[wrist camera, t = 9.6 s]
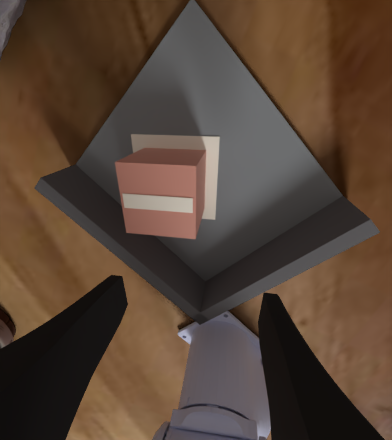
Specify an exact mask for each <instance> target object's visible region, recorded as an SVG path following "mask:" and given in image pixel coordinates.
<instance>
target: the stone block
mask: <svg viewBox="0 0 392 440" xmlns="http://www.w3.org/2000/svg"><path fill="white" fill-rule="evenodd" d="M25 3H26V0H0V60H1V56H2V51H3V49H4V48H5V47H6V45H7V43H8V40H9V38H10V35H11V30H12V28H13V26H14V25H15V23H16V21H17V19H18V18H19V17H20V16H21V15H22V12H23V9H24V5H25Z"/></svg>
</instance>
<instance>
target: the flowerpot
mask: <svg viewBox="0 0 392 440" xmlns="http://www.w3.org/2000/svg"><path fill="white" fill-rule="evenodd" d="M15 332H16V330H15V327H14V325H13V323H12V322H11V321H10V320H9V317H8V316H7V315H6V314H5V313H4V312H3V311H2V310H1V309H0V349H1V348H3V347H5V346H6V345H8V344H10V343H12V342H13V337H14V335H15Z"/></svg>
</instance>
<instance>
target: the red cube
mask: <svg viewBox="0 0 392 440" xmlns="http://www.w3.org/2000/svg"><path fill="white" fill-rule="evenodd" d="M115 166H116V173H117V179H118V185H119V191H120V197H121V203H122V209H123V216H124V222H125V228H126V233H134V234H145V235H156V236H166V237H177V238H188V239H196V236H197V233H198V229H199V226H200V223H201V219H202V216H203V212H204V209H205V177H206V150H191V149H165V148H143V149H141V150H139V151H137V152H135V153H133V154H130V155H128V156H126V157H124V158H122V159H120V160H118V161H116V162H115Z"/></svg>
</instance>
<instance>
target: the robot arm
mask: <svg viewBox="0 0 392 440" xmlns="http://www.w3.org/2000/svg"><path fill="white" fill-rule="evenodd" d="M127 305H128V303H127V298H126V293H125V288H124V283H123V278H122V276H115V275H111V276H109V277H108V278H107V279H105V280H104V281H103V282H101V283H100V284H99V285H97V286H96V287H95V288H94V289H92V290H91V291H90V292H88V293H87V294H86V295H84V296H83V297H82V298H80V299H79V300H78V301H76V302H75V303H74V304H72V305H71V306H69V307H68V308H67V309H65V310H64V311H62V312H61V313H59V314H58V315H56V316H55V317H54V318H52V319H51V320H49V321H48V322H46V323H44V324H43V325H41V326H40V327H38V328H36V329H35V330H33V331H31V332H30V333H28V334H26V335H25V336H23V337H21V338H19V339H17V340H16V341H14V342H12V343H10V344H8V345H6V346H5V347H3V348H1V349H0V440H66V437H67V434H68V432H69V429H70V427H71V424H72V422H73V419H74V417H75V414H76V412H77V410H78V407H79V405H80V402H81V400H82V398H83V395H84V393H85V391H86V389H87V386H88V384H89V382H90V379H91V377H92V375H93V373H94V371H95V369H96V367H97V365H98V364H99V362H100V360H101V358H102V356H103V354H104V353H105V351H106V349H107V347H108V345H109V343H110V342H111V340H112V338H113V336H114V334H115V332H116V330H117V328H118V327H119V325H120V323H121V320H122V318H123V315H124V313H125V310H126V308H127ZM225 314H226V315H225ZM258 328H259V338H258V337H257V336H256V335H255V334H254V333H253V332H251V331H250V330H249V329H248V328H247V327H246V326H245V325H243V324H242V323H241V322H240V321H239V320H238V319H237V318H236V317H234V316H233V315H232V314H231V313H230V312H229V311H226V312H224V313H222V314H221V315H219V316H217V317H215V318H213V319H211V320H209V321H207V322H205V323H203V324H201V325H199V324H198V323H197V322H194V323H192V324H190V325H188V326H186V327H184V328H182V329H180V330H179V331H178V335H179V336H180V337H181V338H182V339H184V340H185V341H186V342H188V343H189V344H190V349H189V354H188V359H187V365H186V370H185V376H184V381H183V386H182V392H181V397H180V402H179V408H178V410H177V409H173V411H172V416H171V421H170V422H167V421H166V422H164V423H163V424H162V425H161V427H160V428H159V429H158V430H157V431H156V433H155V435H154V437H153V439H152V440H267V439H266V438H267V437H268V435H269V433H270V430H271V437H272V440H385V439H384V438H383V437H382V436H381V435H380V434H379V433H378V432H377V431H376V429H375V428H374V427H373V426H372V425H371V424H370V423H369V422H368V420H367V419H366V418H365V417H364V416H363V415H362V414H361V413H360V412H359V410H358V409H357V408H356V407H355V406H354V405H353V404H352V402H351V401H350V400H349V399H348V398H347V396H346V395H345V394H344V393H343V392H342V390H341V389H340V388H339V387H338V385H337V384H336V383H335V382H334V380H333V379H332V378H331V376H330V375H329V374H328V373H327V371H326V370H325V369H324V367H323V366H322V365H321V363H320V362H319V360H318V359H317V358H316V356H315V355H314V353H313V352H312V350H311V349H310V348H309V346H308V345H307V343H306V342H305V340H304V338H303V337H302V335H301V334H300V332H299V331H298V329H297V327H296V326H295V324H294V323H293V321H292V319H291V317H290V316H289V314H288V312H287V310H286V309H285V307H284V305H283V303H282V301H281V299H280V297H279V296H278V295H277V294H271V293H264V295H263V300H262V305H261V310H260V315H259V320H258Z"/></svg>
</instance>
